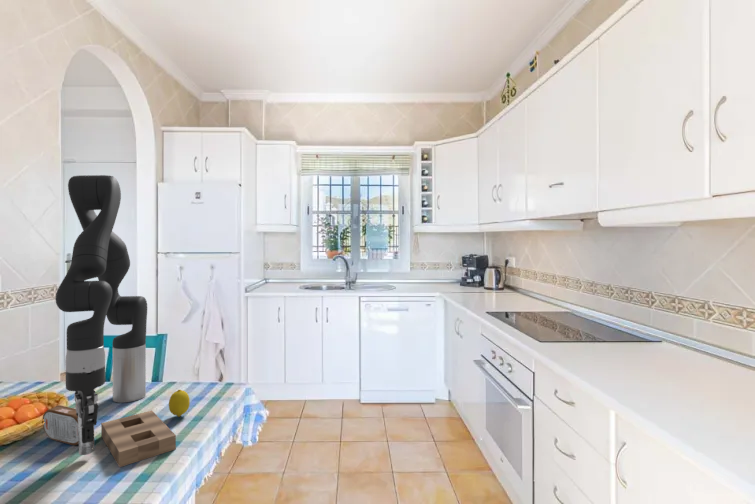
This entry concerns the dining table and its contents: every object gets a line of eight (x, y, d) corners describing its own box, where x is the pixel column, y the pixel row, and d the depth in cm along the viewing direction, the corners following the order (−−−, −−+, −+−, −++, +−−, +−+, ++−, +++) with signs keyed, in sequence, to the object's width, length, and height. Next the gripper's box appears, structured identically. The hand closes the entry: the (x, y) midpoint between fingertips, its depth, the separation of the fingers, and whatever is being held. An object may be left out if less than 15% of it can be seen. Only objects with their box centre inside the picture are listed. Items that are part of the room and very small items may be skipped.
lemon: (181, 421, 116) (181, 393, 115) (164, 419, 117) (164, 392, 116) (193, 413, 121) (193, 387, 121) (177, 411, 122) (177, 385, 122)
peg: (77, 451, 95) (77, 409, 95) (93, 447, 97) (92, 406, 97) (79, 456, 93) (79, 413, 93) (95, 451, 95) (95, 409, 95)
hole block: (101, 436, 106) (101, 423, 106) (151, 422, 115) (151, 410, 115) (119, 467, 92) (119, 452, 92) (175, 449, 100) (175, 435, 100)
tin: (93, 443, 103) (93, 410, 103) (80, 449, 100) (80, 415, 100) (53, 433, 108) (52, 402, 107) (39, 439, 105) (39, 406, 104)
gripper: (61, 362, 97) (62, 433, 98) (70, 377, 87) (71, 456, 87) (98, 356, 102) (99, 424, 103) (111, 370, 92) (111, 444, 93)
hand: (86, 438), depth 95 cm, fingers closed on peg, 3 cm apart
